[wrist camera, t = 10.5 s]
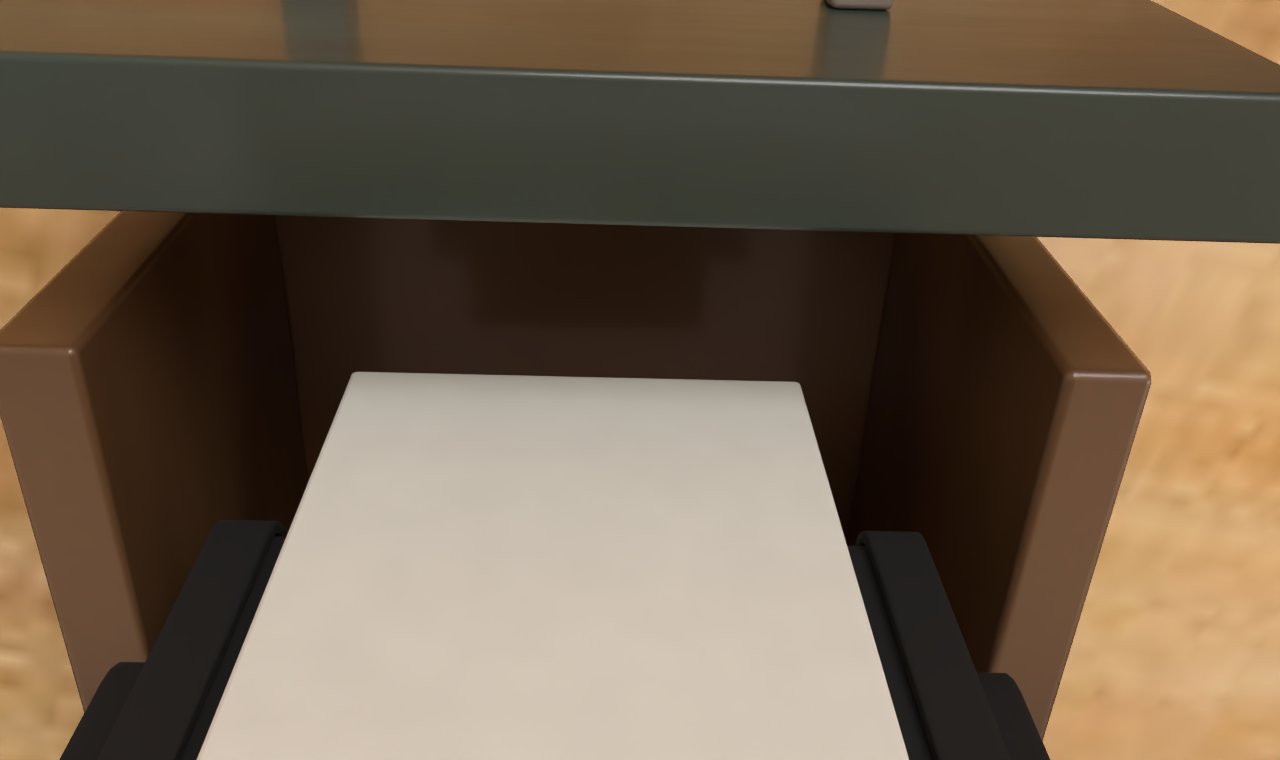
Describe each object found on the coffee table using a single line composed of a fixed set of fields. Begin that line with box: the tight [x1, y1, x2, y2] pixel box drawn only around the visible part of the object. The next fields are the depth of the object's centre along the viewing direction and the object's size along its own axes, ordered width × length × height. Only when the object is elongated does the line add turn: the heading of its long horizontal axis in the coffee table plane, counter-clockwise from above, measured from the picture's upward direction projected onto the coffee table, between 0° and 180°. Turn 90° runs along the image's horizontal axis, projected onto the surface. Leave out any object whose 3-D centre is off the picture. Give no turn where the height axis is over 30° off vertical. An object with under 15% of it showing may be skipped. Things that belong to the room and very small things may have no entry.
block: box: [197, 372, 909, 760], centre depth 10 cm, size 4×4×5 cm
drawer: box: [0, 0, 1280, 740], centre depth 14 cm, size 18×11×7 cm, turn 178°
